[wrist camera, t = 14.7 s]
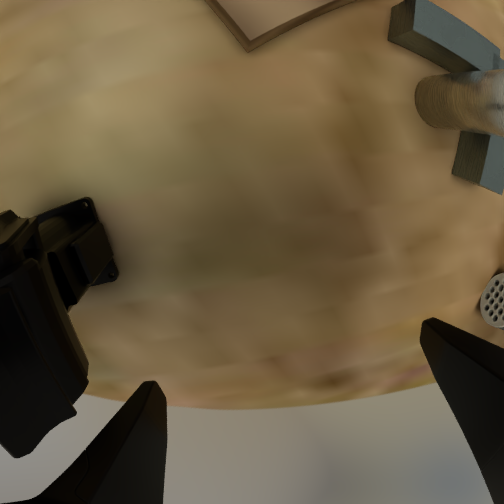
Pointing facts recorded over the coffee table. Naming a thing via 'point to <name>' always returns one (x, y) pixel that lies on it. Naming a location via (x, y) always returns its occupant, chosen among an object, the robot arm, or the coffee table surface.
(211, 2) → the slotted block
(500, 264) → the coffee table surface
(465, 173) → the v block
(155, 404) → the robot arm
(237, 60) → the coffee table surface
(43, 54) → the coffee table surface
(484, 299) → the flashlight
